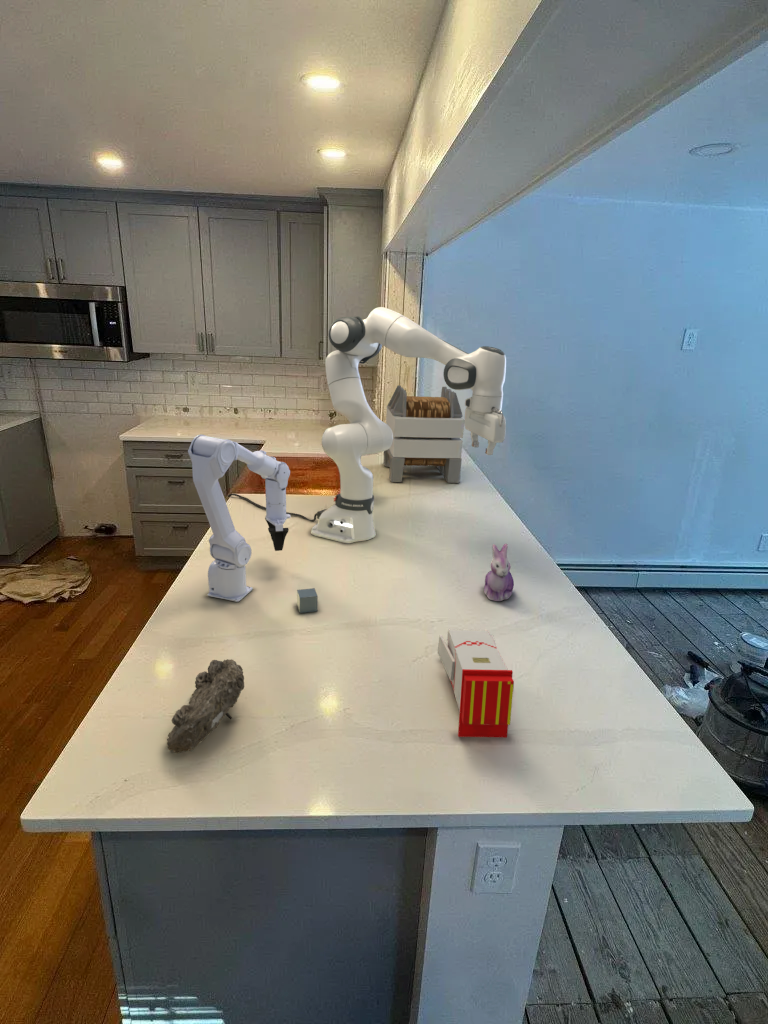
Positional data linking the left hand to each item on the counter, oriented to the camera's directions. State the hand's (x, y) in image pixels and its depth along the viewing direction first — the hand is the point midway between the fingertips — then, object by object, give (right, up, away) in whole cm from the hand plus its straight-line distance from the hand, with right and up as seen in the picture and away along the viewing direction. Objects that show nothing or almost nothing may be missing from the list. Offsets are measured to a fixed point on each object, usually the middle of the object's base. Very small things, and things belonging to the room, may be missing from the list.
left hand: (277, 545), depth 167 cm
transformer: (+49, +29, +108) cm, 122 cm away
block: (+11, -15, -19) cm, 27 cm away
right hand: (+61, +28, +3) cm, 67 cm away
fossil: (-1, -29, -59) cm, 66 cm away
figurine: (+64, -14, -7) cm, 66 cm away
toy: (+49, -28, -49) cm, 75 cm away
